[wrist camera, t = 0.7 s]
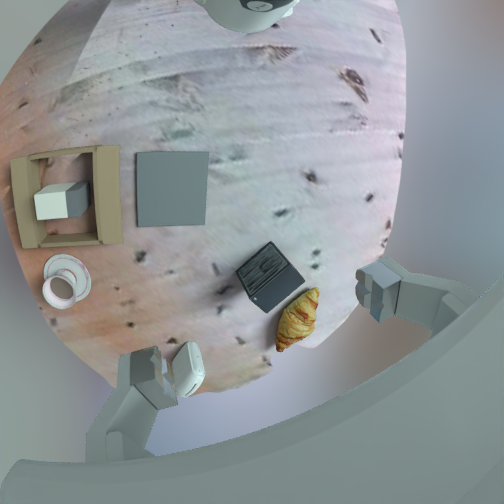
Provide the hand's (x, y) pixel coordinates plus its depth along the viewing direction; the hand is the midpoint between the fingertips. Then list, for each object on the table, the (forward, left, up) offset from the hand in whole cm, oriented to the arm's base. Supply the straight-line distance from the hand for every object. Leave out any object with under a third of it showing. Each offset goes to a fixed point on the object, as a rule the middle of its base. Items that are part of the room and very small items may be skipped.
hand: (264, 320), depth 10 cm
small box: (+23, +17, -43) cm, 52 cm away
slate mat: (+6, -2, -43) cm, 43 cm away
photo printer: (+49, -1, -43) cm, 65 cm away
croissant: (+40, +30, -43) cm, 66 cm away
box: (+6, -23, -43) cm, 49 cm away
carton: (+6, -23, -43) cm, 49 cm away
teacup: (+24, -27, -43) cm, 56 cm away
